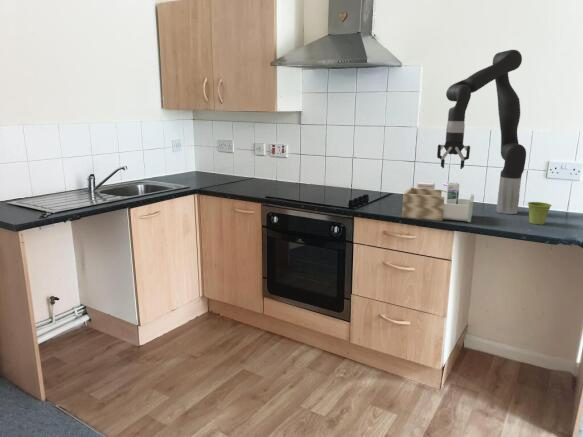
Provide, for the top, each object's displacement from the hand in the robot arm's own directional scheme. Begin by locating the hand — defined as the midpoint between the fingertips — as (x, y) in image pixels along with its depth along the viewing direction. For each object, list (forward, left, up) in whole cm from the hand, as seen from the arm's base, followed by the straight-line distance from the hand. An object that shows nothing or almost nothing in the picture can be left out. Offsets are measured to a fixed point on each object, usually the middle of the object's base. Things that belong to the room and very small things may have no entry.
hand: (452, 168), depth 215 cm
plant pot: (-37, -5, -23) cm, 44 cm away
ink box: (+14, -23, -23) cm, 35 cm away
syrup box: (0, 0, -21) cm, 21 cm away
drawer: (-1, 0, -22) cm, 22 cm away
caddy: (+11, 0, -23) cm, 25 cm away
